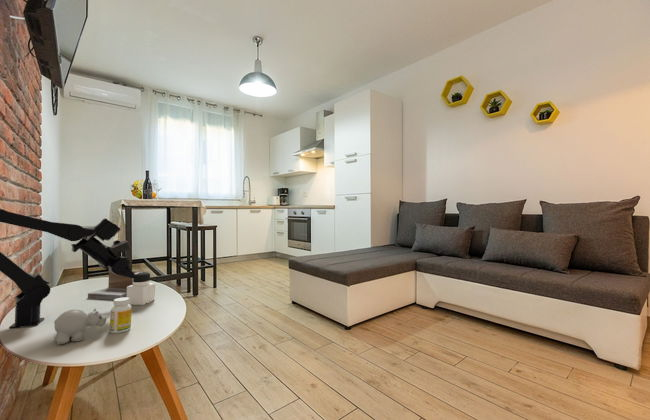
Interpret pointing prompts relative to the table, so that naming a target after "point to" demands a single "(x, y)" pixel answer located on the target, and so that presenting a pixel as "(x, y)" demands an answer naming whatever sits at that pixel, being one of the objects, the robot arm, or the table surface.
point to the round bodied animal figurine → (76, 324)
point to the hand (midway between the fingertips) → (131, 275)
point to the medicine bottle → (141, 289)
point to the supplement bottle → (120, 315)
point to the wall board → (114, 287)
